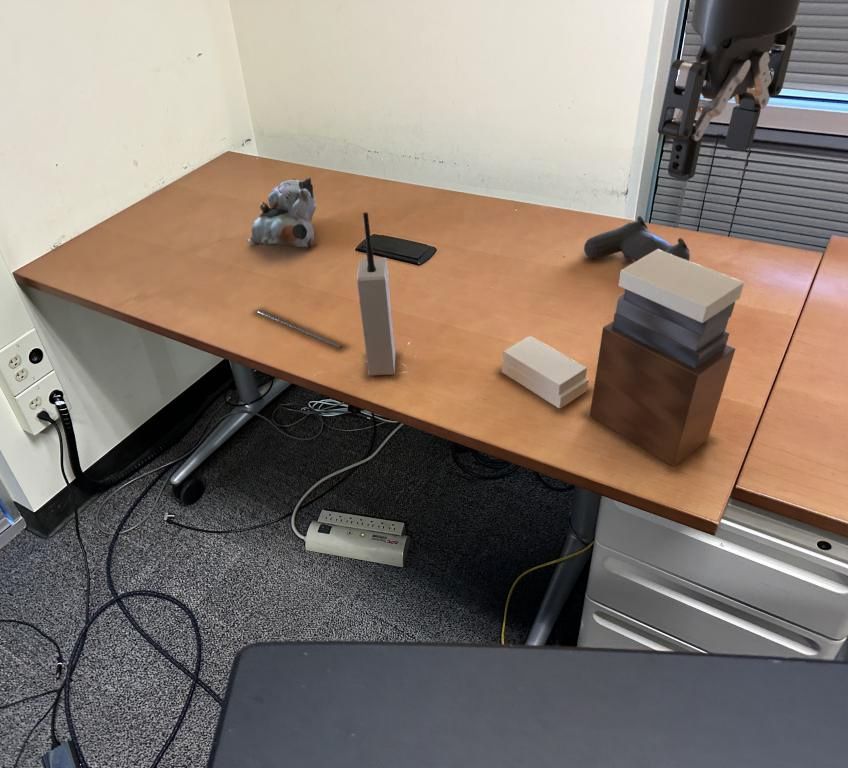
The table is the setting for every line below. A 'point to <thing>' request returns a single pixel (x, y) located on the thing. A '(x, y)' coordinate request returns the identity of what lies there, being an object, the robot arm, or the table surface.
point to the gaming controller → (632, 243)
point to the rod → (300, 329)
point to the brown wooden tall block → (661, 376)
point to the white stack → (545, 371)
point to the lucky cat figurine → (287, 216)
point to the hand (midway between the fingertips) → (709, 162)
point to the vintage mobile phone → (376, 310)
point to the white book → (681, 285)
